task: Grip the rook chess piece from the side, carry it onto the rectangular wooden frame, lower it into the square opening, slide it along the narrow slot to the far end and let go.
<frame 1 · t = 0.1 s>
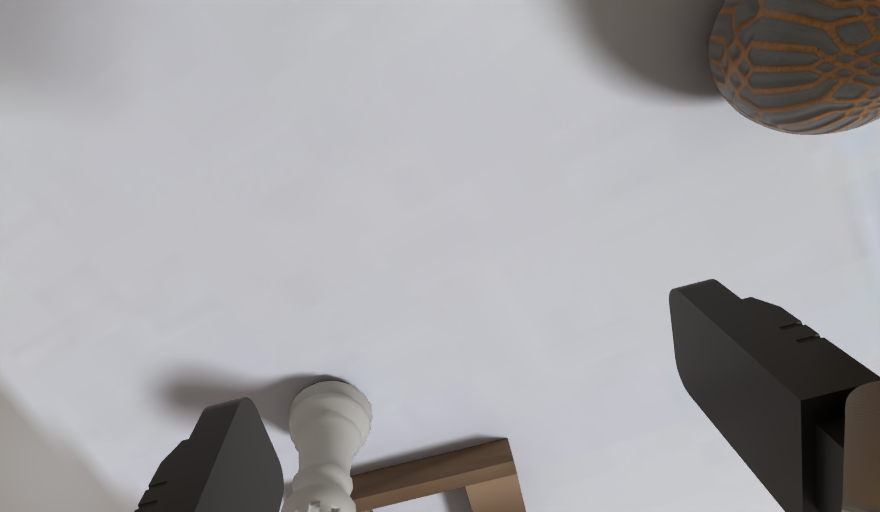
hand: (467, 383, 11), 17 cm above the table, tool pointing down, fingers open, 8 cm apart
vase: (757, 35, 26), on the table
rook chess piece: (332, 406, 32), on the table
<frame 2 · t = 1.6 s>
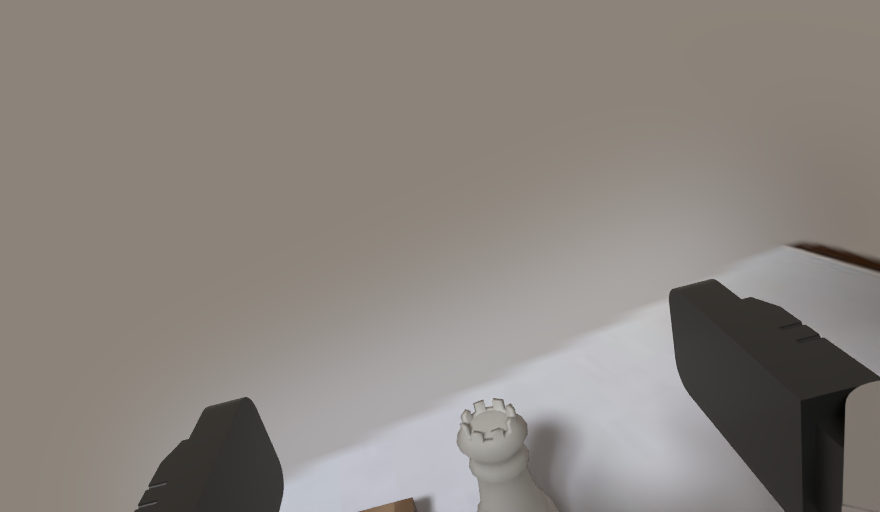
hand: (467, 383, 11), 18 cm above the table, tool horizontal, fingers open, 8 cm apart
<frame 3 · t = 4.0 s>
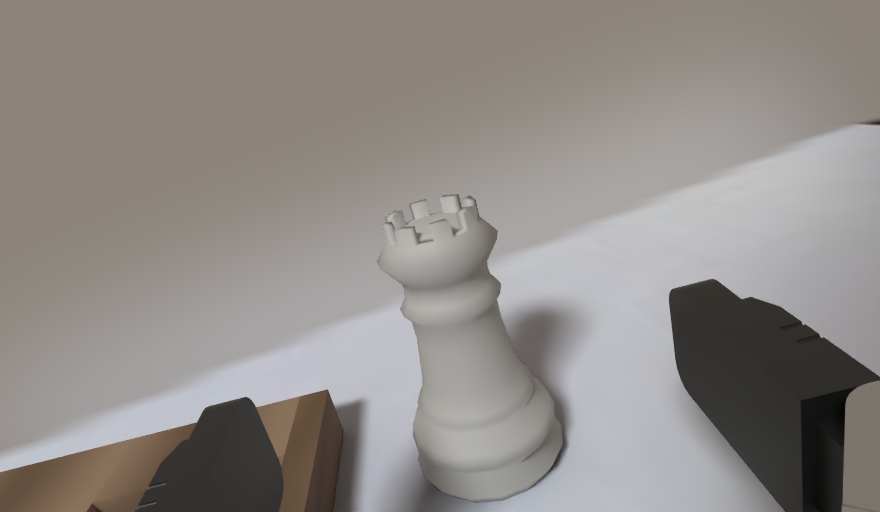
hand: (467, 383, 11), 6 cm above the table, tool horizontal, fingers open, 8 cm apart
rook chess piece: (494, 459, 18), on the table
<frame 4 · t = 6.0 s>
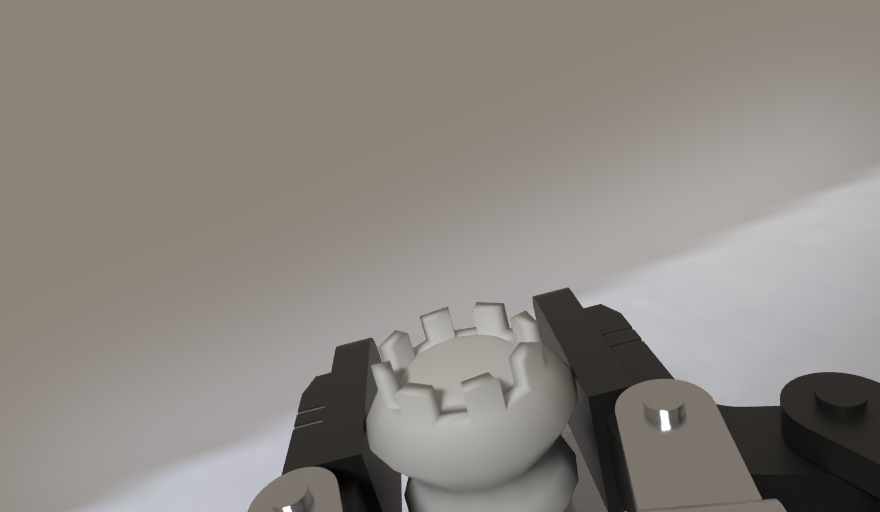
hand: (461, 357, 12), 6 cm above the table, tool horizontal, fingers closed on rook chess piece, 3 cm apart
when the fingers open (6 cm above the table, at t = 12.2 s): rook chess piece stays where it is, resting in rectangular wooden frame.
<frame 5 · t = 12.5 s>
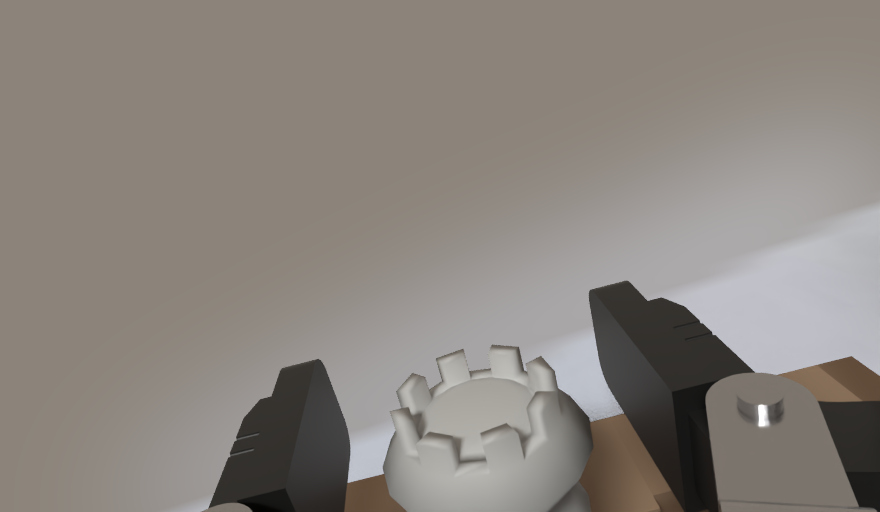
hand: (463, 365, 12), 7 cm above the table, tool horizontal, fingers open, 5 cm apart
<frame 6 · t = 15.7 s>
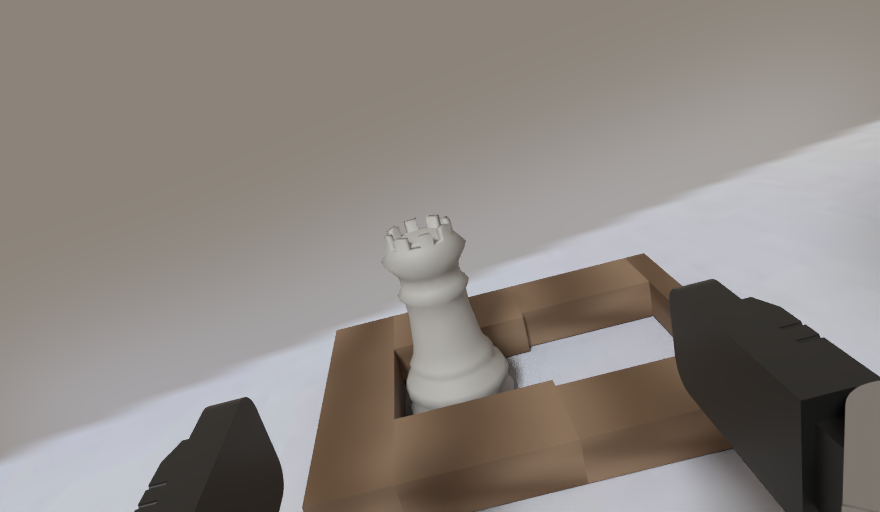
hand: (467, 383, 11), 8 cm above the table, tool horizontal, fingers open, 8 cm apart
rectangular wooden frame: (520, 387, 25), on the table
rook chess piece: (465, 407, 25), resting in rectangular wooden frame
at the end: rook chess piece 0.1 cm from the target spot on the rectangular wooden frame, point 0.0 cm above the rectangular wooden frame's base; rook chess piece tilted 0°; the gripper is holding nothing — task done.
